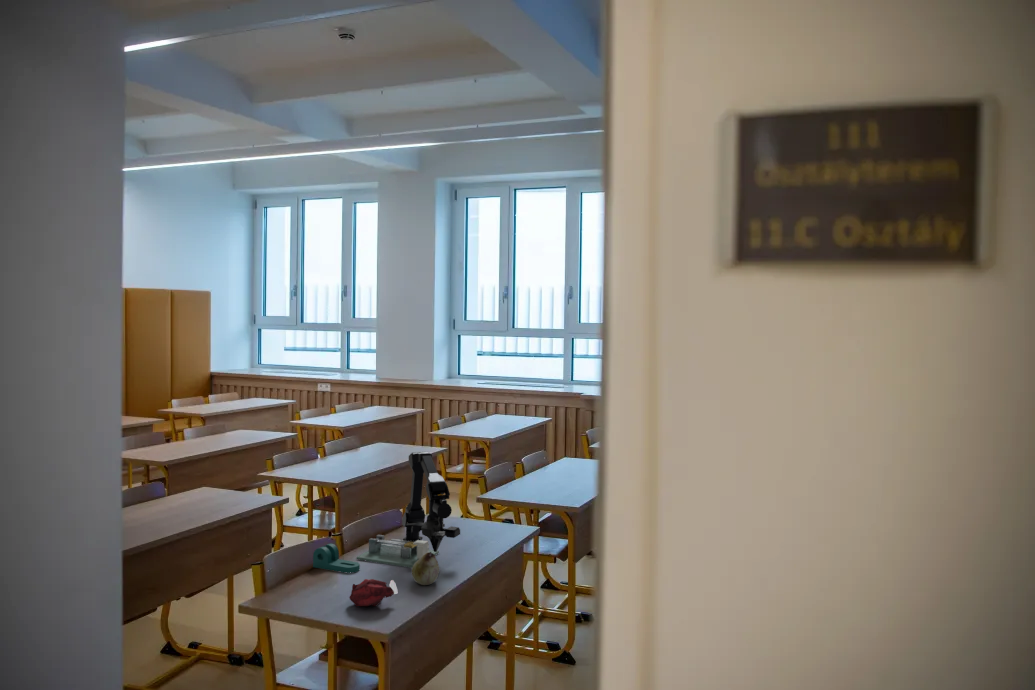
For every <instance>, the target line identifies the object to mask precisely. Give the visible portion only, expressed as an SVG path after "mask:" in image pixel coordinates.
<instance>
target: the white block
mask: <svg viewBox="0 0 1035 690" xmlns="http://www.w3.org/2000/svg"><path fill="white" fill-rule="evenodd" d="M413 542H414V541H413ZM413 544H414V545H418V546H417V559H420V558H421V557H422V556H423V555H424V554H425V553H429V550H430V549H429V547H430V546H429V545H430V543H429V541H428V540H421V539H420V540H417V541H415V542H414V543H413Z"/></svg>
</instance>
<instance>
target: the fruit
mask: <svg viewBox="0 0 1035 690" xmlns="http://www.w3.org/2000/svg"><path fill="white" fill-rule="evenodd" d="M439 573H440V565H439V563H438V559H437V557H436V555H434V554H433V553H431V552H429V553H425V554H424V555H423V556H422V557H421V558H420V559H419V560H418V561H417V562H416V563H415V564H414V565H413V567H412V568H411V575H412V578H413V579H414V581H415V582H416V583H417V584H419V585H420V586H428V585H432V584H434V583H435V582H436V579H438V577H439Z"/></svg>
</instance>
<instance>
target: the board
mask: <svg viewBox="0 0 1035 690" xmlns="http://www.w3.org/2000/svg"><path fill="white" fill-rule="evenodd" d="M439 551H440V550H437V552H434V550H433V549H429V552H431V553H433V554H434V555H435V556H437V555H439V554H440V552H439ZM380 552H381V550H379V549H377V553H375V554H373V553H369V550H366V551H365V552H364V553H362V554H359V555H357V556H355V557H356V558H355V559H360V560H359V561H363V560H366V561H365V562H370V561H372V562H371V563H376V562H377V564H384V565H390V564H391V566H398V567H403V568H411V569H412V567H413V565H414V564H415V563H416V562H417V561H418V560H419V559H417V554H412V553H411V552H410V558H409V559H403V557H402V558H395V557H388V556H381V555H380ZM438 553H439V554H438ZM436 554H437V555H436Z"/></svg>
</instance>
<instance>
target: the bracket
mask: <svg viewBox="0 0 1035 690" xmlns="http://www.w3.org/2000/svg"><path fill="white" fill-rule="evenodd" d="M339 554H340V553H339V549H338V546H336V545H335V544H334V543H328V544H325V545H322V546H320V547H318V548H316V549H315V550H314V551H313V556H312V559H313V560H312V568H316V569H320V570H321V569H323V570H328V571H332V570H334V571H333V572H338V571H341V572H340V573H344V572H347V573H346V574H353V573H352V572H354V573H357V571H358V572H359V571H360V570H359V569H361V568H360V567H361V565H360V562H358V561H353V560H346V559H340V555H339ZM350 572H351V573H350Z"/></svg>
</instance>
